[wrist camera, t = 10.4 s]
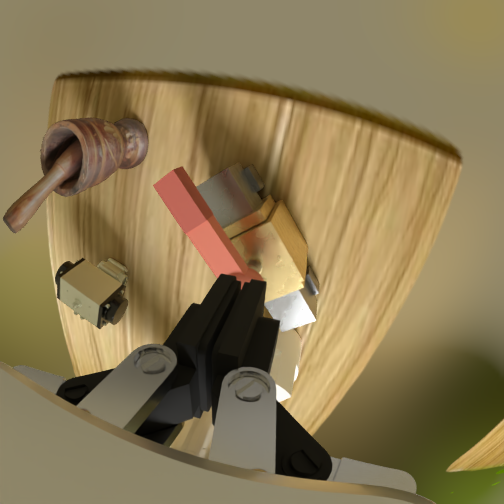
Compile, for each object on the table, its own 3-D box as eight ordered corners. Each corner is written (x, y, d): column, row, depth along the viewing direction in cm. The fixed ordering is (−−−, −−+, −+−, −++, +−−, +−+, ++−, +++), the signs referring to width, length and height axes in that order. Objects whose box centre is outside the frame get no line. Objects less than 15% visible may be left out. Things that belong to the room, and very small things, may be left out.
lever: (272, 291, 28) (269, 302, 26) (241, 305, 29) (236, 316, 27) (187, 162, 24) (177, 165, 23) (158, 184, 26) (147, 189, 24)
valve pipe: (328, 286, 40) (328, 345, 29) (277, 306, 43) (262, 365, 32) (255, 153, 35) (225, 166, 24) (203, 184, 38) (156, 210, 27)
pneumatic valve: (94, 242, 46) (46, 273, 35) (148, 276, 46) (106, 318, 35) (90, 266, 48) (46, 300, 38) (141, 300, 48) (103, 342, 38)
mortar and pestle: (143, 199, 41) (41, 257, 23) (99, 185, 41) (-3, 230, 23) (157, 120, 36) (40, 132, 18) (109, 111, 36) (-5, 125, 18)
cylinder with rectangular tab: (275, 310, 43) (260, 369, 33) (313, 348, 45) (307, 407, 34) (234, 337, 47) (211, 392, 36) (271, 370, 49) (257, 425, 38)
